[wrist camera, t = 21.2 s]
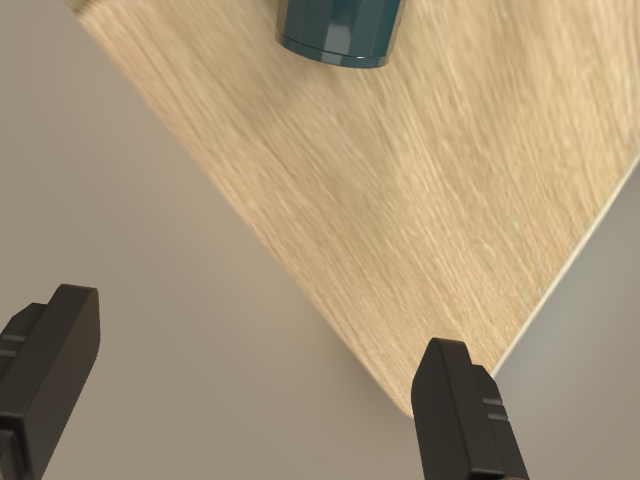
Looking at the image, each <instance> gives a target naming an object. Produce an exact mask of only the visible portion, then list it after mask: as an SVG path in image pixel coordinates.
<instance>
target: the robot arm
mask: <svg viewBox="0 0 640 480" xmlns="http://www.w3.org/2000/svg"><path fill="white" fill-rule="evenodd" d="M99 344H100V319H99V298H98V291H97V289H96V288H91V287H83V286H76V285H69V284H61V285H60V286H59V287H58V288H57V290H56V292H55V293H54V295H53V296H52V298H51V300H50V301H49V303H48V304H47V305H46V304H39V303H31V304H30V305H29V306H27V307H26V308H25V309H23V310H22V311H20V312H19V313H17V314H16V315H15V316H13V317H12V318H11V320H10V321H9V323H8V324H7V326H6V327H5V329H4V330H3V331H2V333H1V334H0V480H41V479H42V476H43V474H44V472H45V470H46V467H47V465H48V463H49V461H50V459H51V456H52V455H53V452H54V450H55V448H56V446H57V443H58V441H59V439H60V437H61V435H62V433H63V430H64V428H65V426H66V424H67V421H68V419H69V417H70V415H71V413H72V410H73V408H74V406H75V404H76V402H77V400H78V397H79V395H80V393H81V391H82V389H83V386H84V384H85V382H86V380H87V378H88V375H89V373H90V371H91V369H92V367H93V364H94V362H95V360H96V357H97V353H98V349H99ZM411 403H412V409H413V415H414V421H415V426H416V431H417V438H418V443H419V449H420V455H421V461H422V466H423V472H424V478H425V480H530V479H529V477H528V474H527V471H526V468H525V465H524V462H523V459H522V457H521V454H520V451H519V448H518V445H517V442H516V439H515V436H514V434H513V431H512V428H511V425H510V422H509V421H508V416H507V414H506V410H505V408H504V406H502V399H501V396H500V393H499V390H498V387H497V385H496V383H495V381H494V380H493V379H492V377H491V376H490V375H489V374H488V372H487V371H486V370H485V368H484V367H483V366H482V365H474V364H472V362H471V359H470V356H469V353H468V350H467V347H466V345H465V343H464V342H462V341H456V340H449V339H442V338H432V339H431V340H430V342H429V344H428V346H427V349H426V351H425V353H424V356H423V358H422V360H421V363H420V365H419V367H418V370H417V372H416V374H415V377H414V379H413V383H412V389H411Z"/></svg>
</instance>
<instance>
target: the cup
mask: <svg viewBox="0 0 640 480" xmlns="http://www.w3.org/2000/svg"><path fill="white" fill-rule="evenodd" d="M405 3H406V0H280V2H279V9H278V15H277V22H276V31H275V39H276V41H277V42H278V43H279V44H280V45H281V46H283V47H284V48H286V49H288V50H290V51H292V52H294V53H296V54H298V55H301V56H303V57H306V58H309V59H312V60H315V61H319V62H323V63H327V64H331V65H336V66H342V67H349V68H361V69H370V68H379V67H382V66H385V65H386V64H387V63H388V61H389V58H390V54H391V52H392V51H393V47H394V43H395V39H396V36H397V32H398V28H399V25H400V21H401V17H402V14H403V10H404V6H405Z"/></svg>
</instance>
